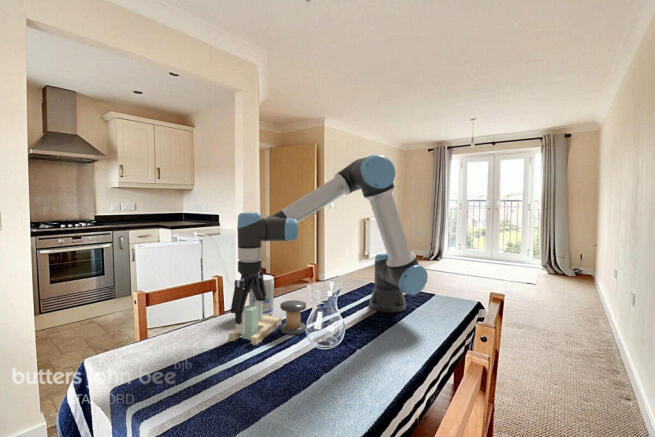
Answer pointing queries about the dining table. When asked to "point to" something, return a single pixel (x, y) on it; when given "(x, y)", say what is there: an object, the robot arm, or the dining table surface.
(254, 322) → the peg
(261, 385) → the dining table surface
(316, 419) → the dining table surface
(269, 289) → the supplement tub
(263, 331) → the notched board
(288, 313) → the bobbin
